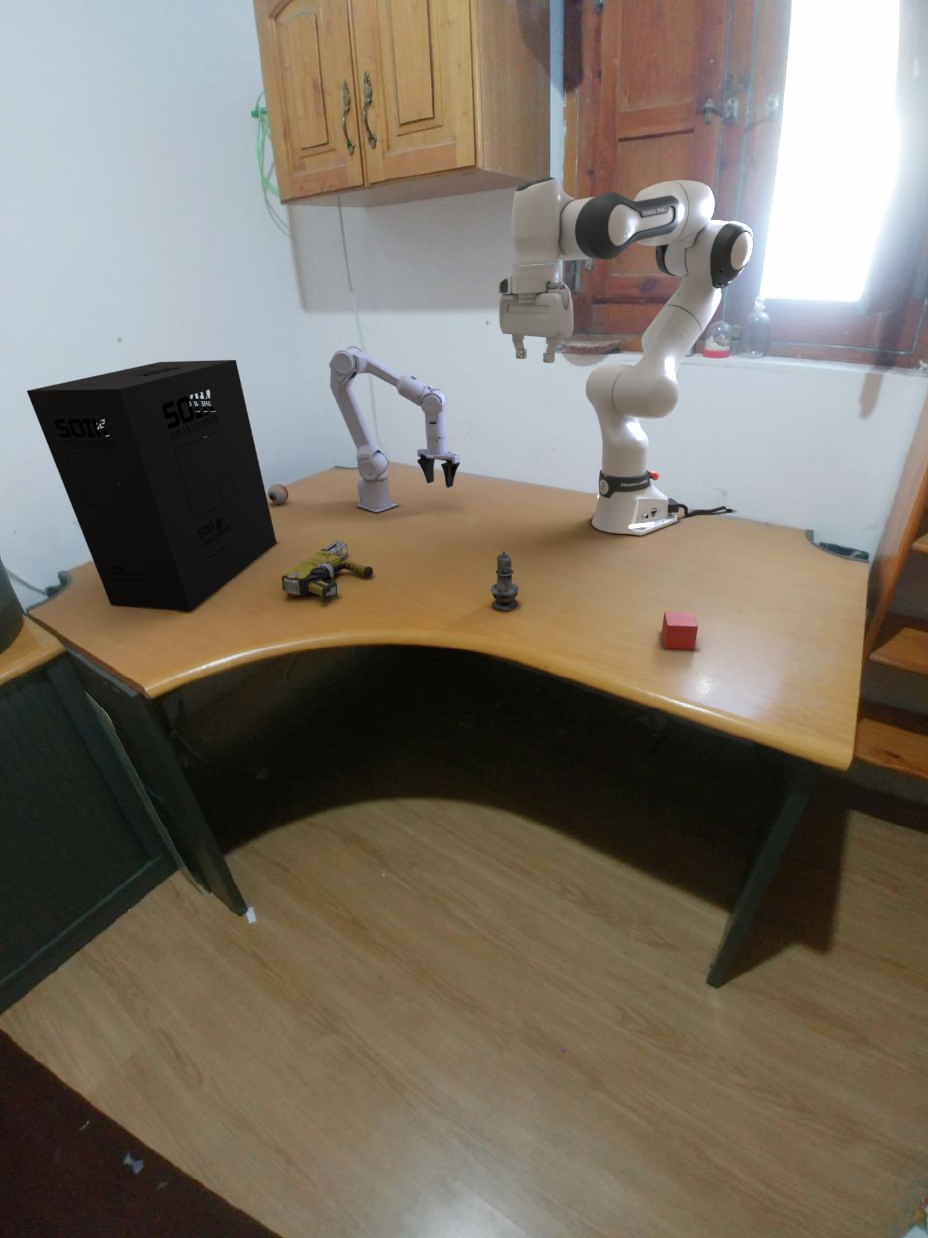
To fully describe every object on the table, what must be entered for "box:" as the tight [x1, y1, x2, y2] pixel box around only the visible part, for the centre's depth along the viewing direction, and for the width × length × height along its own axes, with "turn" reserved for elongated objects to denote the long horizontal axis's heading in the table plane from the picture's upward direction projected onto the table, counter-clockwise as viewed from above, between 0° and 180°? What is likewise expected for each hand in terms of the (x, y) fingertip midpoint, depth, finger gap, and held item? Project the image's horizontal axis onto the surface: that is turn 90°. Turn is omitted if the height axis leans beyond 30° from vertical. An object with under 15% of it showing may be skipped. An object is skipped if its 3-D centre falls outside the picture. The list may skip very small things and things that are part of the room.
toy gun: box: [281, 539, 374, 603], centre depth 138 cm, size 5×24×15 cm
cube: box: [660, 611, 699, 650], centre depth 108 cm, size 5×5×5 cm
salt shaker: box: [490, 550, 520, 611], centre depth 121 cm, size 6×6×12 cm
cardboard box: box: [26, 359, 277, 612], centre depth 135 cm, size 38×20×45 cm, turn 167°
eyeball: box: [267, 483, 289, 505], centre depth 187 cm, size 6×6×6 cm
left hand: (439, 484), depth 174 cm, fingers open, 7 cm apart
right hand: (534, 360), depth 122 cm, fingers open, 8 cm apart
